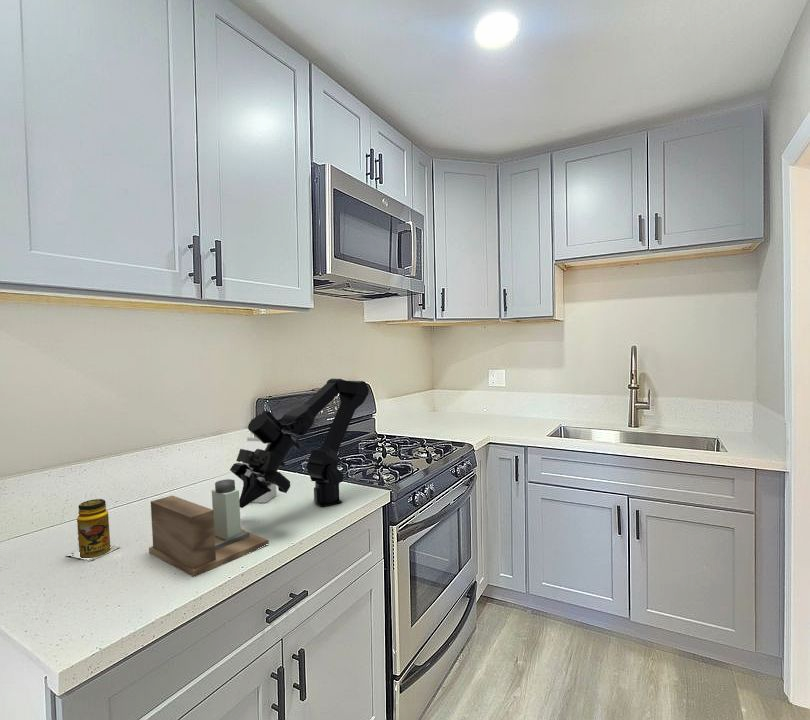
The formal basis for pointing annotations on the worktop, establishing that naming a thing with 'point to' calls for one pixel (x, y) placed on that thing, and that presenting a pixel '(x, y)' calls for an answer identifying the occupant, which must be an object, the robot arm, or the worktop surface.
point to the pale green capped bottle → (226, 509)
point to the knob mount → (194, 537)
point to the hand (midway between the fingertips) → (239, 507)
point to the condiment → (93, 529)
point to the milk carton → (252, 445)
